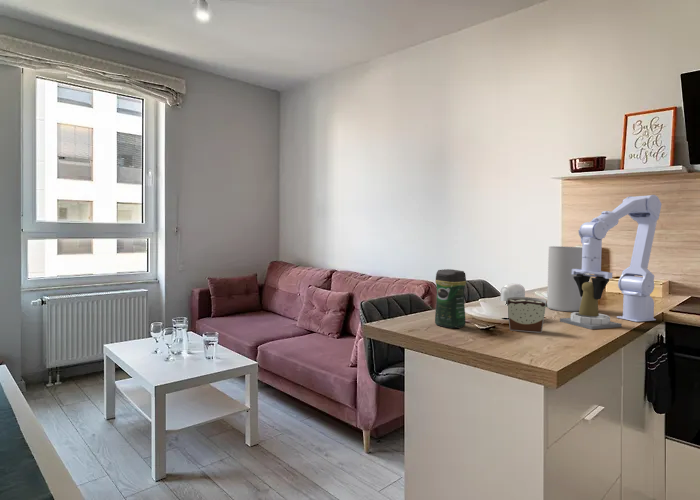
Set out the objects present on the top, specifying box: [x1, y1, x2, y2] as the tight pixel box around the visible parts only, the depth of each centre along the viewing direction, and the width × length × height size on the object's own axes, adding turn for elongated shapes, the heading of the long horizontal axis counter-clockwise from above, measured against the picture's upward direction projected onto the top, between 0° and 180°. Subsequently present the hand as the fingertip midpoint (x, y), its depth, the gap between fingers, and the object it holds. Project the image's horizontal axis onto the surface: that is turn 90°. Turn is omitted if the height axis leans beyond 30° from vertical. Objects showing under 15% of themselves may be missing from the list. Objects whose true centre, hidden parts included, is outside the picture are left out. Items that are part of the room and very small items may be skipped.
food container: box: [505, 296, 549, 334], centre depth 140 cm, size 12×6×10 cm, turn 71°
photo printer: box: [499, 283, 526, 302], centre depth 159 cm, size 10×4×12 cm, turn 123°
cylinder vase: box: [546, 246, 582, 313], centre depth 177 cm, size 12×12×25 cm
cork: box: [578, 281, 600, 316], centre depth 149 cm, size 6×6×11 cm
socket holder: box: [559, 311, 623, 330], centre depth 149 cm, size 13×13×3 cm
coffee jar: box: [434, 268, 467, 329], centre depth 145 cm, size 10×8×19 cm
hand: (590, 297), depth 149 cm, fingers closed on cork, 5 cm apart
